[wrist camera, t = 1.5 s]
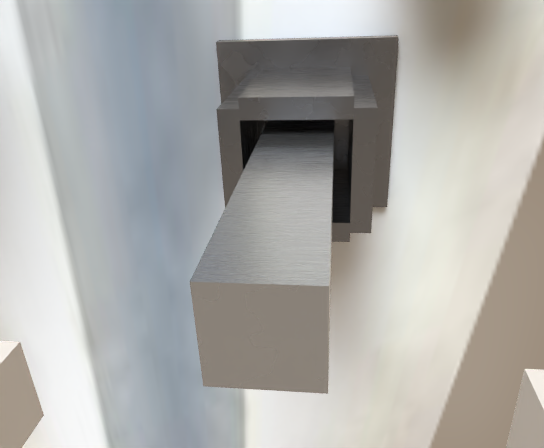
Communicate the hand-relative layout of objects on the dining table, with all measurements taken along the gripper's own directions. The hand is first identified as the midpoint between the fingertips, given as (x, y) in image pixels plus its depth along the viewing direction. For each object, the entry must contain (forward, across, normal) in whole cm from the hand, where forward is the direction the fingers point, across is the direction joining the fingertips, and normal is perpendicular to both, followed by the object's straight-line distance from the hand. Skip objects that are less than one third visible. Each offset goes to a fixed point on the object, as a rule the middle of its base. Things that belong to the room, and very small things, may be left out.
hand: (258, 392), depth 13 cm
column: (+25, 0, 0) cm, 25 cm away
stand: (+26, 0, 0) cm, 26 cm away
